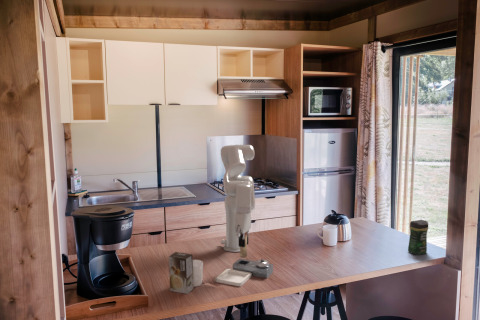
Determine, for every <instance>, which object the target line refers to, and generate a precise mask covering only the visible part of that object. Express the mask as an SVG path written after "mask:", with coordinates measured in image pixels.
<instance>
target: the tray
mask: <svg viewBox="0 0 480 320" xmlns="http://www.w3.org/2000/svg"><path fill="white" fill-rule="evenodd" d="M252 277H253V276H252V273H250V272H244V271H239V270H234V269H233V268H226V269H225V270H224V271H222V272H221V273H220V274H219V275H218V276H216V277H215V278H214V282H216V283H219V284H220V283H221V284H225V285H228V286H229V285H230V286H231V285H232V286H236V287H240V288H241V287H242V286H243V285H244V284H245V283H246V282H247V281H248V280H249V279H251V278H252Z"/></svg>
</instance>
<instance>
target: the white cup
mask: <svg viewBox="0 0 480 320" xmlns="http://www.w3.org/2000/svg"><path fill="white" fill-rule="evenodd" d="M203 271H204V261H203V260H200V259H193V288H194V287H199V286H201V285H202V284H203V274H204V272H203Z"/></svg>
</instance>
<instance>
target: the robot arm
mask: <svg viewBox="0 0 480 320" xmlns="http://www.w3.org/2000/svg"><path fill="white" fill-rule="evenodd" d="M220 158H221V161H222V163H223V166H224V170H225V172H224V175H223V180H222V181H223V182H222V183H223V191H224V193H225V195H226V196H225V199H224V201H223V203H224V209H225V229H226V230H225V236H226V237H225V238H226V239H220V244H221V245H223V250H224V251H225V252H230V253H238V252H239V253H240V247H245V239H244V233H246V232H247V246H248V245H249V236H250V233H249V232H250V230H251V228H252V211H254V210H255V207H256V197H255V196H256V195H255V184H254V179H253V177H252V176H250V175H241V174H242V173H244V172H245V171H246V168H247V165H246V161H252V160H254V158H255V149H254V146H253V145H251V144H230V145H224V146H222V147H221V148H220ZM241 232H242V233H241ZM240 234H242V235H240Z"/></svg>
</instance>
